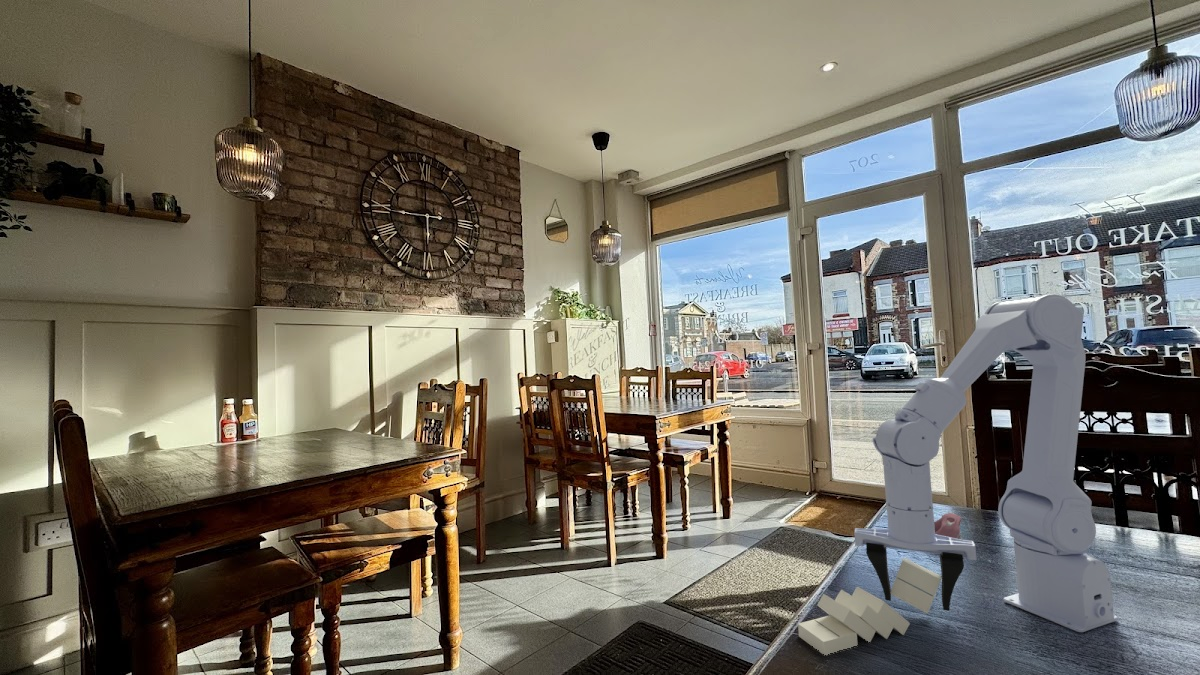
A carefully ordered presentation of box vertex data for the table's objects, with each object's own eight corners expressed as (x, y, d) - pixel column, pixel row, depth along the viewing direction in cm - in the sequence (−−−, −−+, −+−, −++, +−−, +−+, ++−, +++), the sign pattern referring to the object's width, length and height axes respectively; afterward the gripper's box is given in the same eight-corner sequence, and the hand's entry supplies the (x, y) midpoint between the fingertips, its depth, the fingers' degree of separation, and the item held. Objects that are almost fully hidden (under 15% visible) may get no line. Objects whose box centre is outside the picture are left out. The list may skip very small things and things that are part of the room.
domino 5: (928, 609, 71) (941, 576, 71) (927, 613, 70) (941, 579, 69) (891, 589, 74) (903, 557, 74) (889, 593, 73) (902, 560, 72)
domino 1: (856, 632, 65) (823, 641, 64) (857, 647, 65) (824, 656, 64) (829, 615, 70) (797, 623, 68) (830, 628, 70) (799, 637, 68)
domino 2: (876, 630, 66) (850, 609, 65) (869, 643, 66) (843, 622, 65) (848, 613, 71) (823, 593, 70) (842, 625, 70) (817, 605, 69)
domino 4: (910, 623, 67) (884, 601, 67) (903, 635, 67) (877, 613, 66) (881, 606, 72) (857, 586, 71) (875, 618, 72) (850, 597, 71)
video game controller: (948, 562, 92) (967, 530, 90) (921, 546, 94) (938, 515, 93) (951, 544, 100) (968, 514, 98) (925, 530, 102) (942, 501, 100)
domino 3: (893, 627, 67) (867, 604, 66) (886, 639, 66) (860, 617, 65) (865, 610, 71) (841, 589, 70) (859, 621, 71) (834, 600, 70)
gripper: (968, 502, 72) (975, 599, 71) (854, 493, 79) (860, 581, 79) (974, 517, 66) (983, 623, 65) (851, 505, 73) (857, 601, 73)
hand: (916, 602), depth 72 cm, fingers closed on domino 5, 6 cm apart
